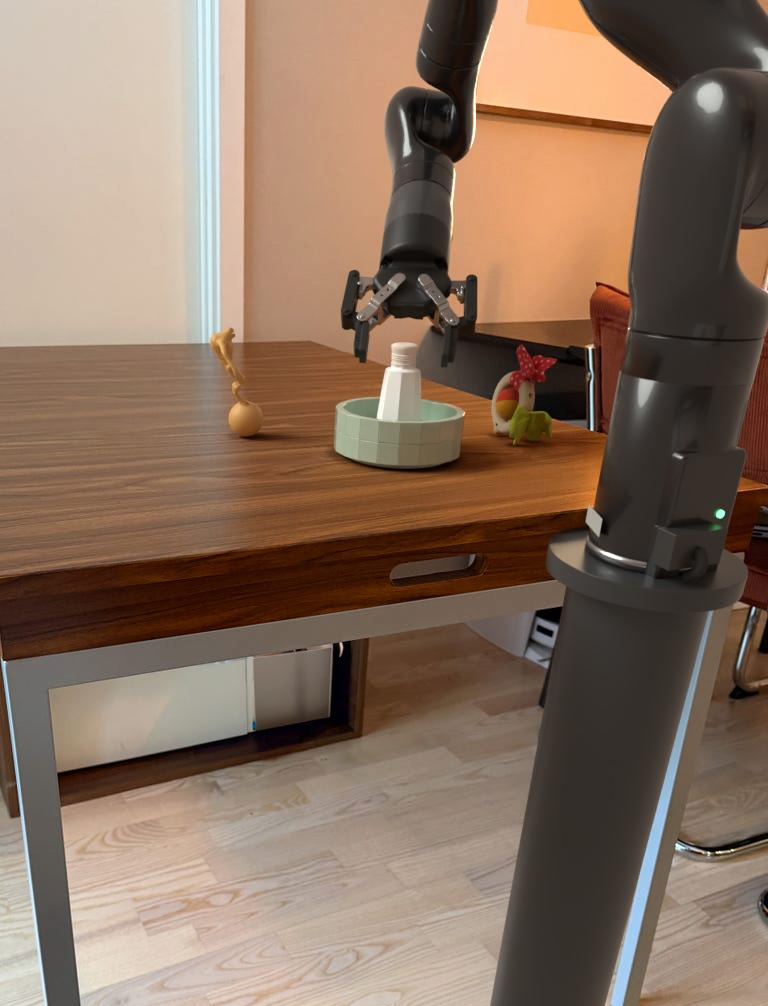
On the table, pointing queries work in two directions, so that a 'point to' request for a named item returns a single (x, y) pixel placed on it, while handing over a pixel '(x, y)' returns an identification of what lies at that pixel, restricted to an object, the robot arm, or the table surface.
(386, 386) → the pepper shaker
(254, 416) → the figurine
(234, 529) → the table surface
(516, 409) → the bird rattle
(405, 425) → the bowl
